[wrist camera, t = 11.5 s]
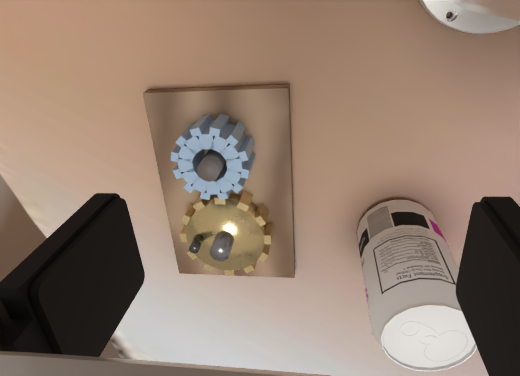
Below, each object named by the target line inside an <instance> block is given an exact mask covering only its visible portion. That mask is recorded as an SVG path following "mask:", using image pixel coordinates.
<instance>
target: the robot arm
mask: <svg viewBox="0 0 520 376" xmlns="http://www.w3.org/2000/svg"><path fill="white" fill-rule="evenodd" d="M419 2H420V3H421V5H422V6H423V7H424V9H425V10H426V11H427V13H428V14H429V15H431V16H432V17H433V18H434V19H435V20H437V21H438V22H439V23H441V24H443V25H445V26H447V27H449V28H451V29H454V30H457V31H460V32H465V33H472V34H490V33H496V32H500V31H505V30H509V29H511V28H514V27H516V26H518V25H520V0H419ZM448 12H451V14H452V15H451V17H450V18H446V14H447V13H448ZM143 282H144V269H143V265H142V261H141V257H140V253H139V250H138V246H137V242H136V238H135V234H134V231H133V227H132V223H131V219H130V215H129V211H128V208H127V204H126V201H125V200H124V199H123V198H120V196H119V195H118V194H116V193H97V194H95V195H94V196H92V197H91V198H90V199H89V200H88V201H87V202H86V203H85V204H84V205H83V206H82V207H81V208H80V209H78V210H77V211H76V212H75V213H74V214H73V215H72V216H71V217H70V218H69V219H68V220H67V221H66V222H64V223H63V224H62V225H61V226H60V227H59V228H58V229H57V230H56V231H55V232H54V233H53V234H52V235H50V236H49V237H48V238H47V239H46V240H45V241H44V242H43V243H42V244H41V245H40V246H39V247H38V248H36V249H35V250H34V251H33V252H32V253H31V254H30V255H29V256H28V257H27V258H26V259H25V260H24V261H22V262H21V263H20V264H19V265H18V266H17V267H16V268H15V269H14V270H13V271H12V272H11V273H10V274H9V275H7V276H6V277H5V278H4V279H3V280H2V281H1V282H0V376H329V375H318V374H306V373H294V372H282V371H269V370H257V369H245V368H233V367H220V366H208V365H195V364H183V363H170V362H157V361H143V360H130V359H116V358H103V357H99V356H100V355H101V353H102V351H103V350H104V348H105V346H106V345H107V343H108V341H109V340H110V338H111V336H112V335H113V333H114V331H115V330H116V328H117V326H118V325H119V323H120V321H121V320H122V318H123V316H124V315H125V313H126V311H127V310H128V308H129V306H130V305H131V303H132V301H133V300H134V298H135V296H136V295H137V293H138V291H139V290H140V288H141V286H142V284H143ZM456 297H457V300H458V303H459V305H460V308H461V310H462V312H463V315H464V317H465V319H466V322H467V324H468V327H469V329H470V331H471V334H472V336H473V338H474V341H475V343H476V346H477V348H478V350H479V353H480V355H481V358H482V360H483V362H484V365H485V367H486V369H487V372H488V374H489V376H520V207H519V206H518V204H517V203H516V202H515V201H514V200H513V199H512V198H511V197H483V198H482V200H481V201H480V202H475V203H474V204H473V207H472V211H471V215H470V220H469V225H468V230H467V234H466V239H465V244H464V249H463V253H462V258H461V263H460V268H459V272H458V277H457V282H456Z"/></svg>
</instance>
